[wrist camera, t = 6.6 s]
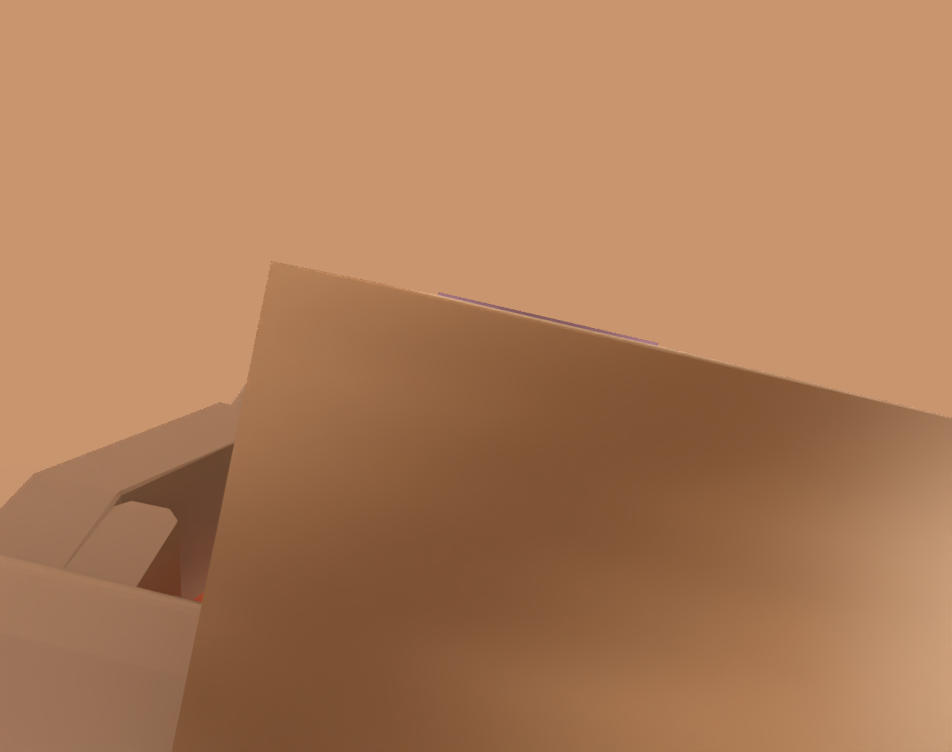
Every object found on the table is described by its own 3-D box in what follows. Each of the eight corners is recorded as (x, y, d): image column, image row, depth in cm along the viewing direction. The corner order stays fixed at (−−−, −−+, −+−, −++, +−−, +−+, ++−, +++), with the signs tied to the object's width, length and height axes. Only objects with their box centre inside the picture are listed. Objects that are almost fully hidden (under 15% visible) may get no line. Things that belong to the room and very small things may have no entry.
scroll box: (110, 1006, 4) (262, 247, 4) (425, 445, 21) (458, 297, 21) (863, 1190, 4) (1095, 440, 4) (572, 479, 21) (608, 331, 21)
